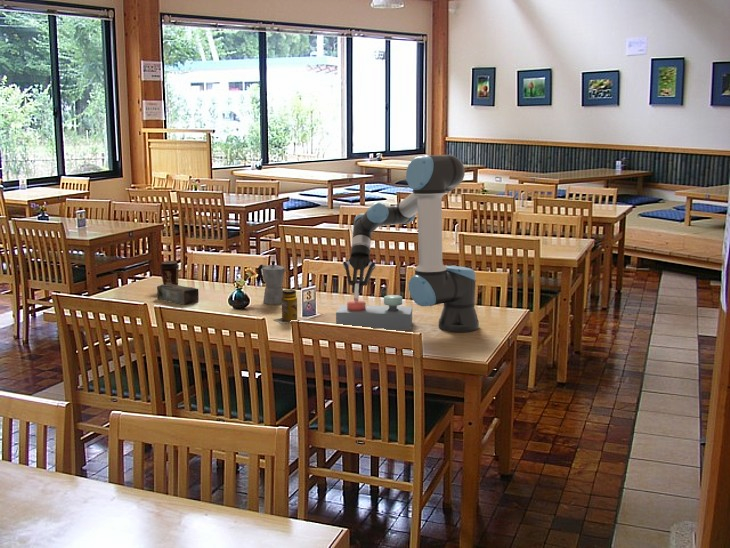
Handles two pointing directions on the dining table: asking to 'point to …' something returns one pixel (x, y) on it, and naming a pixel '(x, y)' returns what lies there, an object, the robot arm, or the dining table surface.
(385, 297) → the teal button
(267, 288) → the coffeepot
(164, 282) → the coffee cup
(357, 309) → the red button
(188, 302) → the dark grey brick
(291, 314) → the condiment
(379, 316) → the control box
